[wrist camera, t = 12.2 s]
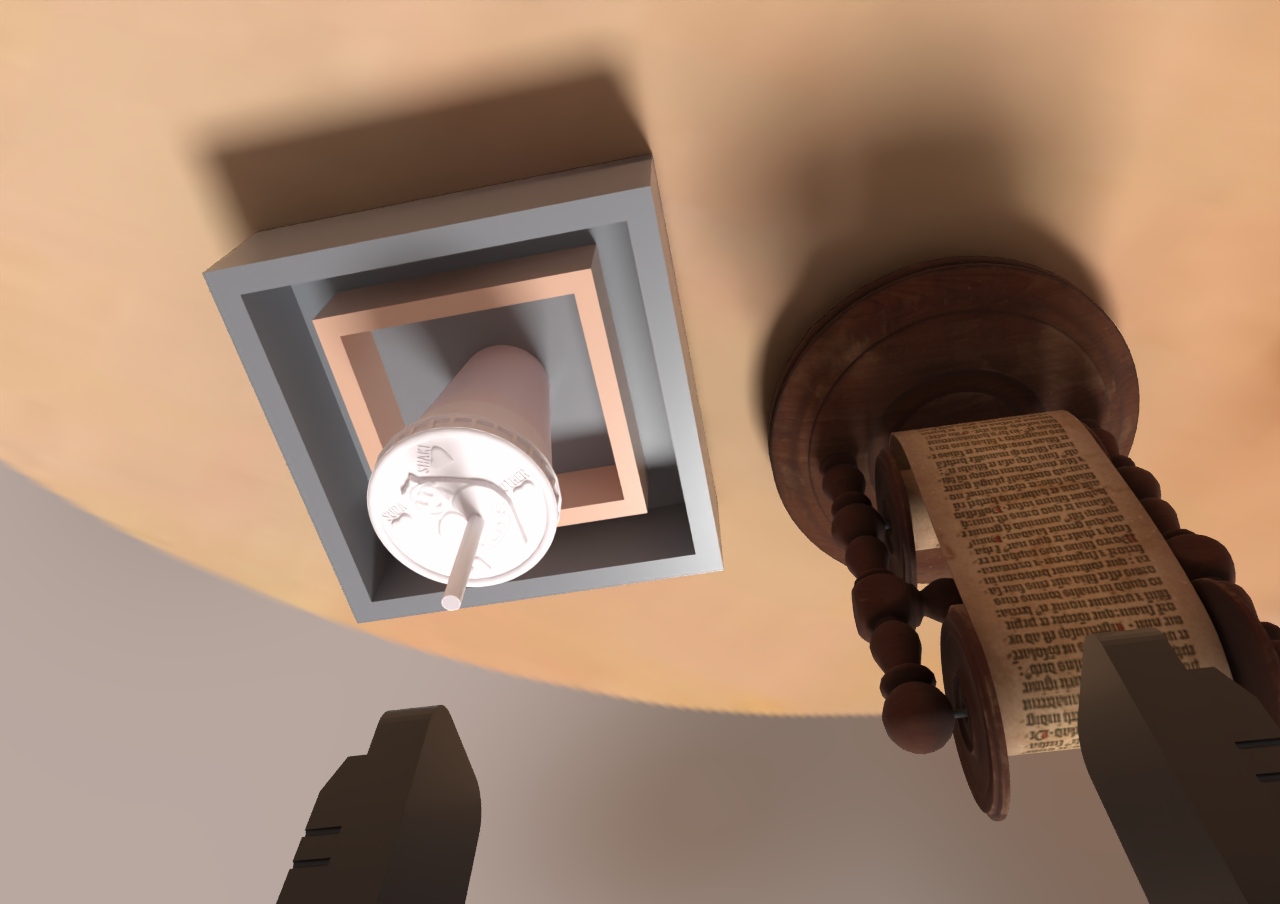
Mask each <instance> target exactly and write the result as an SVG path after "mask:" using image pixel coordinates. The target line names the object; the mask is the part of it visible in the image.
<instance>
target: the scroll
mask: <svg viewBox="0 0 1280 904" xmlns="http://www.w3.org/2000/svg"><path fill="white" fill-rule="evenodd" d="M1138 416H1139V385H1138V378H1137V373H1136V369H1135V364H1134V362H1133V359H1132V356H1131V353H1130V350H1129V348H1128V346H1127V344H1126V342H1125V340H1124V338H1123V336H1122V335H1121V333H1120V332H1119V330H1118V329H1117V327H1116V326H1115V324H1114V323H1113V322H1112V320H1111V319H1110V318H1109V317H1108V316H1107V315H1106V314H1105V312H1104V311H1103V310H1102V309H1101V308H1100V307H1098V306H1097V305H1096V304H1095V303H1094V302H1093V301H1092V300H1091V299H1090V298H1089V297H1087V296H1086V295H1085V294H1084V293H1083V292H1082V291H1081V290H1079V289H1078V288H1077V287H1075V286H1074V285H1072V284H1071V283H1069V282H1068V281H1066V280H1065V279H1063V278H1061V277H1059V276H1057V275H1055V274H1053V273H1052V272H1049V271H1047V270H1044V269H1042V268H1039V267H1037V266H1034V265H1031V264H1027V263H1024V262H1020V261H1016V260H1011V259H1005V258H999V257H985V256H962V257H952V258H943V259H937V260H933V261H928V262H923V263H919V264H916V265H913V266H910V267H906V268H903V269H900V270H898V271H895V272H893V273H891V274H888V275H886V276H883V277H881V278H879V279H877V280H875V281H873V282H872V283H870V284H868V285H866V286H864V287H863V288H861V289H859V290H858V291H856V292H855V293H853V294H851V295H850V296H849V297H847V298H846V299H845V300H843V301H842V302H841V303H839V304H838V305H837V306H835V307H834V308H833V309H832V310H831V311H830V312H829V313H827V314H826V315H825V316H824V317H823V318H822V319H821V320H820V321H819V322H818V323H817V324H814V325H813V326H812V327H811V328H810V329H809V331H808V334H807V335H806V337H805V338H804V339H803V341H802V342H801V343H800V344H799V346H798V347H797V349H796V350H795V352H794V354H793V355H792V357H791V358H790V360H789V361H788V363H787V365H786V367H785V369H784V371H783V373H782V375H781V378H780V380H779V383H778V386H777V388H776V391H775V394H774V398H773V402H772V405H771V410H770V417H769V424H768V447H769V456H770V461H771V467H772V471H773V476H774V480H775V483H776V487H777V490H778V493H779V495H780V498H781V500H782V502H783V504H784V506H785V508H786V510H787V512H788V513H789V515H790V517H791V518H792V520H793V521H794V522H795V524H796V525H797V526H798V528H799V529H800V530H801V531H802V532H803V533H804V534H805V536H806V537H807V538H808V539H809V540H810V541H811V542H812V543H814V544H815V545H816V546H817V547H818V548H820V549H821V550H822V551H823V552H825V553H826V554H828V555H829V556H831V557H832V558H834V559H835V560H837V561H839V562H841V563H843V564H844V565H846V566H847V567H848V569H849V571H850V572H851V573H852V574H853V575H854V576H855V577H856V578H857V579H856V581H855V583H854V587H853V589H852V604H853V612H854V618H855V622H856V627H857V631H858V634H859V635H860V636H861V637H862V638H863V639H864V640H865V641H867V642H869V643H870V650H871V653H872V656H873V658H874V660H875V662H876V663H877V664H878V665H879V667H880V668H881V669H882V670H883V672H884V673H885V675H884V676H883V677H882V679H881V683H880V691H881V693H882V696H883V697H884V698H885V699H886V700H885V702H884V707H883V713H882V720H883V723H884V726H885V729H886V732H887V734H888V736H889V737H890V738H891V740H892V741H894V742H895V743H896V744H897V745H898V746H899V747H900V748H902V749H903V750H906V751H909V752H912V753H915V754H927V753H931V752H935V751H937V750H938V749H940V748H942V747H943V746H944V745H945V744H946V742H947V741H948V740H949V739H950V738H951V736H952V733H953V735H954V739H955V743H956V747H957V751H958V754H959V758H960V761H961V765H962V768H963V771H964V774H965V777H966V780H967V782H968V785H969V787H970V790H971V792H972V794H973V797H974V799H975V801H976V803H977V804H978V806H979V807H980V809H981V810H982V811H983V812H984V813H986V814H987V815H988V816H989V817H990V818H991V819H992V820H994V821H1002V820H1004V819H1005V818H1006V816H1007V814H1008V809H1009V803H1010V773H1009V763H1008V762H1009V761H1008V756H1011V755H1020V754H1029V753H1039V752H1047V751H1058V750H1067V749H1076V748H1081V747H1080V742H1079V736H1078V708H1079V695H1080V682H1081V670H1082V657H1083V646H1084V641H1085V638H1086V636H1087V635H1089V634H1097V633H1106V632H1114V631H1123V630H1132V629H1141V628H1150V627H1154V628H1157V629H1158V630H1160V631H1161V633H1162V634H1163V635H1164V636H1165V637H1166V639H1167V640H1168V642H1169V643H1170V645H1171V646H1172V648H1173V649H1174V651H1175V652H1176V654H1177V655H1178V657H1179V659H1180V660H1181V662H1182V663H1183V665H1184V666H1185V668H1186V669H1197V668H1206V667H1215V668H1217V669H1218V670H1220V671H1221V672H1222V673H1224V674H1225V675H1226V676H1228V677H1229V678H1230V679H1232V680H1233V681H1235V682H1236V683H1237V684H1239V685H1240V686H1241V687H1243V688H1244V689H1246V690H1247V691H1248V692H1250V693H1251V694H1252V695H1254V696H1255V697H1257V698H1258V700H1259V701H1260V702H1261V704H1262V705H1263V707H1264V708H1265V709H1266V711H1267V712H1268V714H1269V715H1270V716H1271V718H1272V719H1273V721H1274V722H1275V723H1276V725H1277V726H1278V727H1279V729H1280V628H1279V627H1278V626H1276V625H1274V624H1271V623H1269V622H1260V621H1259V619H1258V616H1257V613H1256V610H1255V608H1254V605H1253V602H1252V600H1251V598H1250V597H1249V595H1248V594H1247V593H1246V592H1245V591H1244V589H1243V588H1242V587H1240V586H1238V585H1236V584H1235V567H1234V563H1233V560H1232V558H1231V555H1230V554H1229V552H1228V551H1227V549H1226V547H1225V546H1223V545H1222V544H1221V543H1220V542H1218V541H1217V540H1215V539H1212V538H1210V537H1207V536H1203V535H1198V534H1195V533H1194V532H1191V531H1189V530H1187V529H1180V525H1179V521H1178V518H1177V514H1176V512H1175V510H1174V509H1173V508H1172V507H1171V505H1170V504H1169V503H1168V502H1166V501H1164V500H1161V490H1160V485H1159V483H1158V481H1157V480H1156V479H1155V477H1154V476H1153V475H1152V474H1151V473H1150V472H1149V471H1146V470H1144V469H1142V468H1139V467H1136V466H1135V463H1134V462H1133V461H1132V460H1131V458H1128V455H1129V452H1130V450H1131V447H1132V444H1133V441H1134V437H1135V433H1136V429H1137V423H1138ZM917 583H921V584H925V583H930V584H929V585H927V586H926V587H925V588H924V589H923V590H921V591H918V589H917ZM924 616H927V617H929V618H931V619H934V620H936V621H938V622H941V623H943V624H942V628H941V641H940V646H941V664H942V674H943V682H944V689H945V695H946V696H945V695H944V694H943V693H942V692H941V691H940V690H939V689H938V688H936V687H935V686H936V679H935V676H934V674H933V673H932V672H931V671H930V670H929V669H928V668H927V667H925V666H923V665H921V652H922V647H921V642H920V639H919V636H918V634H917V632H916V631H915V629H916V627H918V626H920V624H921V621H922V619H923V617H924Z"/></svg>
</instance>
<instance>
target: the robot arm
mask: <svg viewBox="0 0 1280 904" xmlns="http://www.w3.org/2000/svg"><path fill="white" fill-rule="evenodd" d="M1078 736H1079V742H1080V747H1081V752H1082V755H1083V759H1084V762H1085V765H1086V768H1087V770H1088V773H1089V775H1090V778H1091V780H1092V782H1093V784H1094V786H1095V788H1096V791H1097V793H1098V795H1099V797H1100V799H1101V801H1102V803H1103V806H1104V808H1105V810H1106V812H1107V814H1108V816H1109V818H1110V821H1111V823H1112V825H1113V827H1114V829H1115V831H1116V833H1117V835H1118V837H1119V839H1120V842H1121V844H1122V846H1123V848H1124V850H1125V853H1126V854H1127V857H1128V859H1129V861H1130V863H1131V865H1132V867H1133V869H1134V872H1135V874H1136V876H1137V878H1138V880H1139V882H1140V884H1141V887H1142V889H1143V891H1144V893H1145V895H1146V897H1147V900H1148V902H1149V904H1280V729H1279V727H1278V726H1277V725H1276V723H1275V722H1274V721H1273V719H1272V718H1271V716H1270V715H1269V714H1268V712H1267V711H1266V709H1265V708H1264V707H1263V705H1262V704H1261V702H1260V701H1259V700H1258V698H1257V697H1255V696H1254V695H1252V694H1251V693H1250V692H1248V691H1247V690H1246V689H1244V688H1243V687H1241V686H1240V685H1239V684H1237V683H1236V682H1235V681H1233V680H1232V679H1230V678H1229V677H1228V676H1226V675H1225V674H1224V673H1222V672H1221V671H1220V670H1218V669H1217V668H1215V667H1206V668H1197V669H1186V668H1185V666H1184V665H1183V663H1182V662H1181V660H1180V659H1179V657H1178V655H1177V654H1176V652H1175V651H1174V649H1173V648H1172V646H1171V645H1170V643H1169V642H1168V640H1167V639H1166V637H1165V636H1164V635H1163V634H1162V633H1161V631H1160V630H1158V629H1157V628H1154V627H1150V628H1141V629H1132V630H1123V631H1114V632H1106V633H1097V634H1089V635H1087V636H1086V638H1085V641H1084V646H1083V657H1082V670H1081V682H1080V695H1079V708H1078ZM480 825H481V798H480V791H479V786H478V782H477V780H476V777H475V774H474V772H473V769H472V767H471V764H470V762H469V759H468V757H467V754H466V752H465V749H464V747H463V745H462V742H461V740H460V737H459V735H458V732H457V730H456V728H455V725H454V722H453V720H452V718H451V715H450V713H449V711H448V710H447V708H446V707H445V706H443V705H436V706H427V707H419V708H410V709H401V710H392V711H387V712H385V713H384V714H383V715H382V717H381V718H380V720H379V723H378V725H377V728H376V731H375V734H374V737H373V739H372V742H371V745H370V748H369V751H368V754H367V755H359V756H350V757H347V759H346V760H345V761H344V762H343V764H342V765H341V766H340V767H339V769H338V770H337V771H336V772H335V774H334V775H333V776H332V777H331V779H330V780H329V781H328V782H327V783H326V785H325V786H324V787H323V788H322V790H321V791H320V793H319V795H318V798H317V801H316V803H315V806H314V808H313V811H312V813H311V816H310V818H309V821H308V824H307V826H306V829H305V831H306V835H305V837H302V839H301V841H300V844H299V847H298V849H297V852H296V854H295V857H294V859H293V863H294V865H293V869H290V870H289V872H288V875H287V877H286V880H285V882H284V885H283V888H282V890H281V893H280V895H279V898H278V900H277V903H276V904H465V900H466V896H467V891H468V886H469V881H470V876H471V871H472V866H473V861H474V857H475V852H476V847H477V842H478V837H479V832H480Z"/></svg>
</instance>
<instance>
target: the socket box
mask: <svg viewBox="0 0 1280 904" xmlns="http://www.w3.org/2000/svg"><path fill="white" fill-rule="evenodd" d="M202 274H203V276H204V278H205V280H206V283H207V285H208V287H209V289H210V292H211V294H212V296H213V298H214V301H215V303H216V305H217V308H218V310H219V312H220V314H221V317H222V319H223V321H224V323H225V326H226V328H227V330H228V332H229V335H230V337H231V339H232V341H233V344H234V346H235V348H236V350H237V353H238V355H239V357H240V359H241V362H242V364H243V366H244V368H245V371H246V373H247V375H248V377H249V380H250V382H251V384H252V387H253V389H254V391H255V393H256V396H257V398H258V400H259V402H260V405H261V407H262V409H263V411H264V414H265V416H266V418H267V420H268V423H269V425H270V427H271V429H272V432H273V434H274V436H275V438H276V441H277V443H278V445H279V447H280V450H281V452H282V454H283V457H284V459H285V461H286V463H287V466H288V468H289V470H290V472H291V475H292V477H293V479H294V481H295V484H296V486H297V488H298V490H299V493H300V495H301V497H302V499H303V502H304V504H305V506H306V508H307V511H308V513H309V515H310V517H311V520H312V522H313V524H314V526H315V529H316V531H317V533H318V536H319V538H320V540H321V542H322V545H323V547H324V549H325V551H326V554H327V556H328V558H329V560H330V563H331V565H332V567H333V569H334V572H335V574H336V576H337V578H338V581H339V583H340V585H341V587H342V590H343V592H344V594H345V596H346V599H347V601H348V603H349V605H350V608H351V610H352V612H353V615H354V617H355V619H356V621H357V623H364V622H371V621H378V620H385V619H392V618H399V617H406V616H412V615H419V614H426V613H433V612H440V611H447V609H445V608H444V607H443V605H442V598H443V595H444V592H445V589H446V586H447V584H445V583H441V582H437V581H434V580H432V579H429V578H427V577H424V576H422V575H420V574H418V573H416V572H415V571H413V570H411V569H410V568H408V567H407V566H405V565H404V564H403V563H401V562H400V561H399V560H398V559H397V558H395V557H394V556H393V555H392V554H391V553H390V552H389V551H388V549H387V548H386V547H385V546H384V545H383V543H382V542H381V540H380V539H379V537H378V535H377V534H376V532H375V530H374V528H373V525H372V523H371V520H370V516H369V512H368V507H367V490H368V485H369V481H370V477H371V475H372V472H373V470H374V467H375V464H376V461H377V458H378V455H379V454H380V452H381V451H382V450H383V448H384V447H385V445H386V444H387V443H388V441H389V440H390V439H391V437H393V436H394V435H395V434H397V433H398V432H399V431H401V430H402V429H404V428H405V427H406V426H408V425H409V424H411V423H413V422H416V421H418V420H419V419H420V418H421V417H422V415H423V414H424V413H425V412H426V411H427V409H428V408H429V407H430V406H431V405H432V404H433V402H434V401H435V400H436V399H437V398H438V396H439V395H440V394H441V393H442V392H443V390H444V389H445V388H446V387H447V386H448V384H449V383H450V382H451V381H452V380H453V378H454V377H455V376H456V375H457V374H458V373H459V371H460V370H461V369H462V368H463V367H464V365H465V364H466V363H467V362H468V361H469V359H470V358H471V357H472V356H473V355H474V354H476V353H477V352H479V351H480V350H482V349H484V348H487V347H490V346H494V345H510V346H515V347H518V348H521V349H523V350H525V351H527V352H529V353H530V354H532V355H533V356H534V357H535V358H536V359H537V360H538V361H539V362H540V363H541V364H542V366H543V367H544V369H545V371H546V373H547V375H548V379H549V384H550V415H551V450H552V468H553V470H554V472H555V474H556V476H557V477H558V482H559V487H560V492H561V497H562V503H561V512H560V520H559V522H558V524H557V527H556V532H555V535H554V538H553V541H552V543H551V545H550V547H549V549H548V550H547V552H546V553H545V555H544V556H543V557H542V558H541V560H540V561H539V562H538V563H537V564H536V565H534V566H533V567H532V568H531V569H530V570H528V571H527V572H525V573H524V574H522V575H520V576H518V577H516V578H514V579H512V580H509V581H506V582H503V583H500V584H496V585H491V586H483V587H466V589H465V592H464V595H463V599H462V602H461V605H460V607H459V608H458V609H461V608H467V607H474V606H481V605H488V604H495V603H502V602H509V601H516V600H523V599H529V598H536V597H543V596H550V595H557V594H564V593H571V592H578V591H585V590H591V589H598V588H605V587H612V586H619V585H626V584H633V583H640V582H646V581H653V580H660V579H667V578H674V577H681V576H688V575H695V574H702V573H708V572H715V571H722V570H724V567H723V557H722V546H721V535H720V524H719V513H718V503H717V498H716V493H715V487H714V482H713V477H712V471H711V466H710V461H709V455H708V450H707V445H706V439H705V434H704V429H703V423H702V418H701V412H700V407H699V402H698V396H697V391H696V386H695V380H694V375H693V370H692V364H691V359H690V354H689V348H688V343H687V338H686V332H685V327H684V322H683V316H682V311H681V305H680V300H679V295H678V289H677V284H676V279H675V273H674V268H673V263H672V257H671V252H670V247H669V241H668V236H667V231H666V225H665V220H664V215H663V209H662V204H661V199H660V193H659V188H658V182H657V177H656V172H655V166H654V161H653V156H652V154H647V155H642V156H637V157H632V158H627V159H622V160H617V161H612V162H607V163H602V164H597V165H592V166H587V167H582V168H577V169H571V170H566V171H561V172H556V173H551V174H546V175H541V176H536V177H531V178H526V179H521V180H516V181H511V182H506V183H501V184H496V185H491V186H486V187H481V188H476V189H471V190H466V191H461V192H456V193H451V194H446V195H441V196H436V197H431V198H426V199H421V200H416V201H411V202H406V203H401V204H396V205H391V206H386V207H381V208H376V209H371V210H366V211H361V212H356V213H351V214H346V215H340V216H335V217H330V218H325V219H320V220H315V221H310V222H305V223H300V224H295V225H290V226H285V227H280V228H275V229H270V230H265V231H260V232H256V233H255V234H254V235H252V236H251V237H250V238H248V239H247V240H246V241H244V242H243V243H242V244H240V245H239V246H238V247H236V248H235V249H234V250H232V251H231V252H230V253H228V254H227V255H226V256H224V257H223V258H222V259H220V260H219V261H218V262H216V263H215V264H214V265H213V266H211V267H210V268H209V269H207V270H206V271H205V272H203V273H202Z"/></svg>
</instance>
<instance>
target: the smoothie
mask: <svg viewBox="0 0 1280 904" xmlns="http://www.w3.org/2000/svg"><path fill="white" fill-rule="evenodd" d="M561 503H562V497H561V492H560V487H559V482H558V477H557V476H556V474H555V472H554V470H553V468H552V450H551V415H550V384H549V379H548V375H547V373H546V371H545V369H544V367H543V366H542V364H541V363H540V362H539V361H538V360H537V359H536V358H535V357H534V356H533V355H532V354H530V353H529V352H527V351H525V350H523V349H521V348H518V347H515V346H510V345H494V346H490V347H487V348H484V349H482V350H480V351H479V352H477V353H476V354H474V355H473V356H472V357H471V358H470V359H469V361H468V362H467V363H466V364H465V365H464V367H463V368H462V369H461V370H460V371H459V373H458V374H457V375H456V376H455V377H454V378H453V380H452V381H451V382H450V383H449V384H448V386H447V387H446V388H445V389H444V390H443V392H442V393H441V394H440V395H439V396H438V398H437V399H436V400H435V401H434V402H433V404H432V405H431V406H430V407H429V408H428V409H427V411H426V412H425V413H424V414H423V415H422V417H421V418H420V419H419V420H418V421H416V422H413V423H411V424H409V425H408V426H406V427H405V428H404V429H402V430H401V431H399V432H398V433H397V434H395V435H394V436H393V437H391V439H390V440H389V441H388V443H387V444H386V445H385V447H384V448H383V450H382V451H381V452H380V454H379V455H378V458H377V461H376V464H375V467H374V470H373V472H372V475H371V477H370V481H369V485H368V490H367V507H368V512H369V516H370V520H371V523H372V525H373V528H374V530H375V532H376V534H377V535H378V537H379V539H380V540H381V542H382V543H383V545H384V546H385V547H386V548H387V549H388V551H389V552H390V553H391V554H392V555H393V556H394V557H395V558H397V559H398V560H399V561H400V562H401V563H403V564H404V565H405V566H407V567H408V568H410V569H411V570H413V571H415V572H416V573H418V574H420V575H422V576H424V577H427V578H429V579H432V580H434V581H437V582H441V583H445V584H447V586H446V589H445V592H444V595H443V598H442V605H443V607H444V608H445V609H447V610H451V611H453V610H457V609H458V608H459V607H460V605H461V602H462V599H463V595H464V592H465V589H466V587H483V586H491V585H496V584H500V583H503V582H506V581H509V580H512V579H514V578H516V577H518V576H520V575H522V574H524V573H525V572H527V571H528V570H530V569H531V568H532V567H533V566H534V565H536V564H537V563H538V562H539V561H540V560H541V558H542V557H543V556H544V555H545V553H546V552H547V550H548V549H549V547H550V545H551V543H552V541H553V538H554V535H555V532H556V527H557V524H558V522H559V520H560V512H561Z"/></svg>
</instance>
